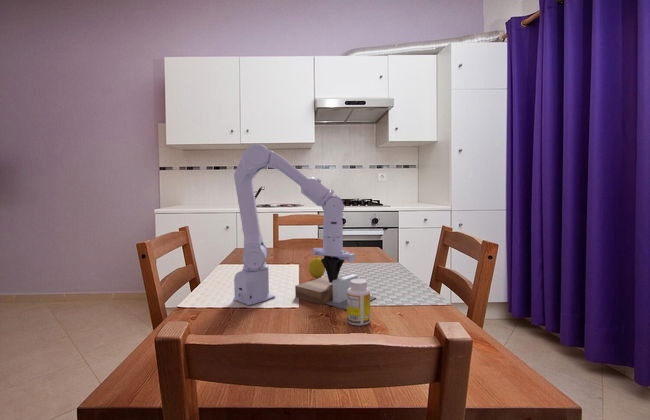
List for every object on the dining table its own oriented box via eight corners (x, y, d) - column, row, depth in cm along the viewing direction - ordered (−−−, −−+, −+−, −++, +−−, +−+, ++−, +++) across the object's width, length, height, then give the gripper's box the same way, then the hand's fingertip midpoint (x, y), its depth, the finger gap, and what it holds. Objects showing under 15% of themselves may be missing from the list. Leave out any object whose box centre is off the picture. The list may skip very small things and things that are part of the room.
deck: (320, 304, 103) (320, 292, 102) (295, 297, 109) (295, 285, 109) (355, 291, 115) (355, 280, 114) (330, 285, 121) (330, 274, 121)
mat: (348, 310, 98) (348, 309, 98) (325, 303, 104) (325, 302, 104) (376, 298, 108) (376, 297, 108) (354, 292, 113) (354, 291, 113)
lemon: (306, 278, 129) (306, 255, 129) (321, 276, 132) (320, 254, 131) (312, 282, 124) (312, 258, 124) (327, 280, 127) (327, 257, 126)
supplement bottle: (367, 317, 94) (367, 277, 93) (372, 326, 88) (372, 283, 87) (345, 318, 93) (345, 278, 92) (348, 327, 88) (349, 284, 87)
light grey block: (332, 301, 105) (338, 303, 103) (332, 280, 104) (338, 281, 103) (352, 294, 111) (357, 295, 110) (352, 274, 111) (357, 275, 109)
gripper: (361, 237, 107) (361, 283, 108) (323, 232, 117) (323, 274, 118) (346, 240, 102) (346, 289, 103) (307, 235, 111) (308, 279, 112)
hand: (333, 281), depth 110 cm, fingers closed
